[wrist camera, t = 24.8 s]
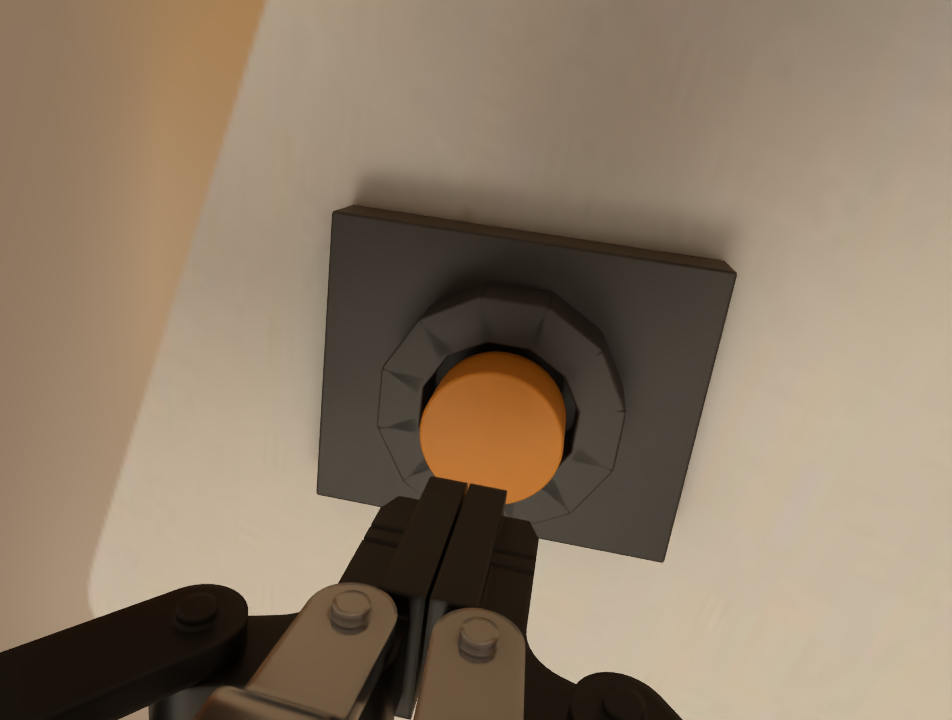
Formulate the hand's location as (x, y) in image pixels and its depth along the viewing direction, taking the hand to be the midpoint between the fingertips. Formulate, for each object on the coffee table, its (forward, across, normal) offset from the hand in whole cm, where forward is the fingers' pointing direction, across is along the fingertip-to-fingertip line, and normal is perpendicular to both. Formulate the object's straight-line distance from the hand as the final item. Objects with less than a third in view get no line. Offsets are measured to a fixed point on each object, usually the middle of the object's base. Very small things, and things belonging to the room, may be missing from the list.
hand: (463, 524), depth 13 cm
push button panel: (+9, 0, 0) cm, 9 cm away
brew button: (+6, 0, 0) cm, 6 cm away
